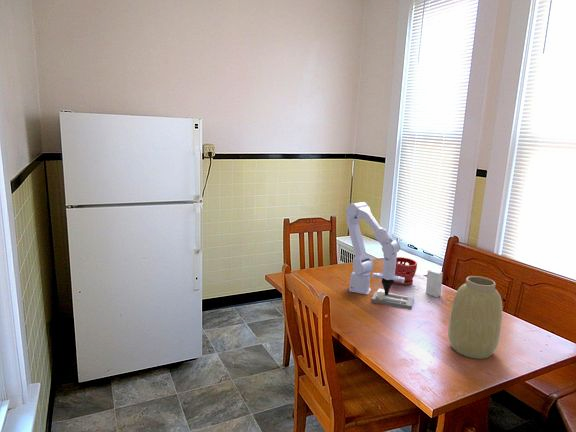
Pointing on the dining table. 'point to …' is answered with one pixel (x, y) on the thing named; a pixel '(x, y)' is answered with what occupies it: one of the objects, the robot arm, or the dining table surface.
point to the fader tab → (381, 292)
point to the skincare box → (434, 282)
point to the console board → (393, 300)
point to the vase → (476, 318)
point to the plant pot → (405, 270)
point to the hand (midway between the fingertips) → (386, 294)
